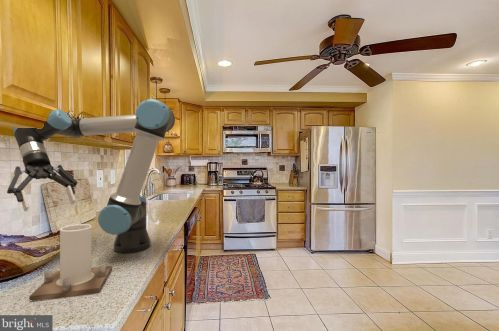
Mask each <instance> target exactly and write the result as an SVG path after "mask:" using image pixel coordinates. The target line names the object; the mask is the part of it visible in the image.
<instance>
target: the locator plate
mask: <svg viewBox="0 0 499 331" xmlns="http://www.w3.org/2000/svg"><path fill="white" fill-rule="evenodd" d="M112 271H113V266H112V265H100V266H95V267H91V277H90V278H88V279H86V280H84V281H81V282H77V283H72V284H71V278H66V279H64V280H63V283H61V282H60V270H58V271H54V273H53V271H52V270H47V271H45V272H44V274H43V277H44V280H43V281H44V282H43V283H42V284H41V285H40V286H39V287H37V288H36V289H35V290H34V291H33V292H32V293H31V294H30V295H29V298H28V299H29V301H30V300H40V301H43V300H42V299H48V300H53V299H52V298H55V299H61V297H63V298H69V297H77V296H79V297H80V296H85V295H86V296H87V295H95V294H99V293H101V291H102V289H103V286H104V285H105V283H106V282H107V279H108V278H109V276H110V274H111V273H112ZM110 272H111V273H110ZM50 298H51V299H50Z"/></svg>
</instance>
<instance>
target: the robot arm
mask: <svg viewBox="0 0 499 331" xmlns="http://www.w3.org/2000/svg"><path fill="white" fill-rule="evenodd" d="M50 112H51V113H50V114H49V118H48V120H47V121H46V122H44V127H43V128H42V129H37V128H17V127H14V126H13V128H12V129H13V130H12V131H13V136H14V138H15V140H16V143H17V145H18V149H19V153H20V156H21V159H22V162H23V165H24V166H23V167H20V166H15V169H14V171H13V172H14V173H13V174H14V175H13V177H12V180H11V181H10V184H9V185H8V187H7V188H8V189H7V190H6V194H9V195H10V194H13V195H14V196H15V197H16V201H17V202H18V203H21V205H22V208H23V211H24V212H28V210H29V209H30V206H29V202H28V197H27V195H26V192H25V188H26V187H27V186H28V185H29V183H30V182H31V181H32V180H33V179H35V180H41V179H42V180H44V179H45V180H47V179H49V180H51V181H52V180H53V181H54V182H55V183H57V184H59V185H61V186H63V187H65V188H66V189H65V191H66V195H67V196H68V201H69V202H70V205H73V204H75V202H76V197H75V194H76V190H75V187H76V186H77V185H78V184H79V182H78V181H77V180H76V179H75V178H74V177H73V176H72V175H71V174H69V173H68V172H67V170H65V169H64V168H63V166H62V164H58V165H57V166H52V164H51V160H50V157H49V155H48V152H47V150H46V147H45V143H44V141H45V140H48V139H49V138H51V137H53V136H55V135H58V136H65V137H70V138H73V139H74V138H75V139H76V138H83V137H85V136H99V135H110V134H123V133H135V134H136V135H135V136H134V137H135V138H134V140H133V143H132V147H131V148H130V151H129V155H128V158H127V160H126V163H125V166H124V169H123V172H122V175H121V177H120V180H119V183H118V185H117V188H116V192H114V193H112V194H110V195H109V198H108V201H107V204H106V206H105V207H103V208H102V209H101V210H100V212H99V213H98V217H97V221H98V224H99V225H98V226H99V227H100V228H101V230H102V231H103V232H104V233H106V234H109V235H112V236H115V235H116V237H115V240H114V242H113V251H114V252H115V253H120V254H123V253H124V254H127V253H128V254H130V253H131V254H132V253H137V252H141V251H143V250H144V251H145V250H147V249H148V248H150V247H151V238H150V236H149V233H148V230H147V204H148V202H147V199H146V197H145V196H141V193H142V190H143V188H144V184H145V182H146V179H147V176H148V173H149V171H150V168H151V165H152V162H153V160H154V159H153V158H154V156H155V153H156V150H157V147H158V145H159V142H161V141H163V140H164V139H165V136H166V133H167V132H169V131H171V130H172V129H173V128H174V126H175V124H176V117H175V113H174V112H173V111H172V110H171V109H170V108H169V107H168V106H167V105H166V104H165V103H164V102H163V101H161V100H158V99H155V98H148V99H145V100H143V101H141V102H140V103H139V104H138V105H137V107H136V109H135V112H134V114H125V115H124V114H123V115H113V116H112V115H111V116H100V117H99V116H98V117H97V116H96V117H86V118H83V117H82V118H71V117H70V116H69V114H68V113H66V112H65V111H63V110H62V109H58V108H57V109H54V110H52V111H50ZM23 173H25V174H26V175H27V176H26V177H25V179H23V181H22V182H21V183H20V184H18V186H17V187H16V184H17V182H18V180H19V177H20V175H23Z"/></svg>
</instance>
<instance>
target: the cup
mask: <svg viewBox="0 0 499 331" xmlns="http://www.w3.org/2000/svg"><path fill="white" fill-rule="evenodd" d="M59 249H60V250H59V262H60V263H59V271H60V282H61V283H63V280H64V279H66V278H71V284H72V283H77V282H81V281H84V280H86V279H88V278H90V277H91V268H92V225H91V224H89V223H79V224H72V225H71V224H70V225H65V226H63V227H60V229H59Z"/></svg>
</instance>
